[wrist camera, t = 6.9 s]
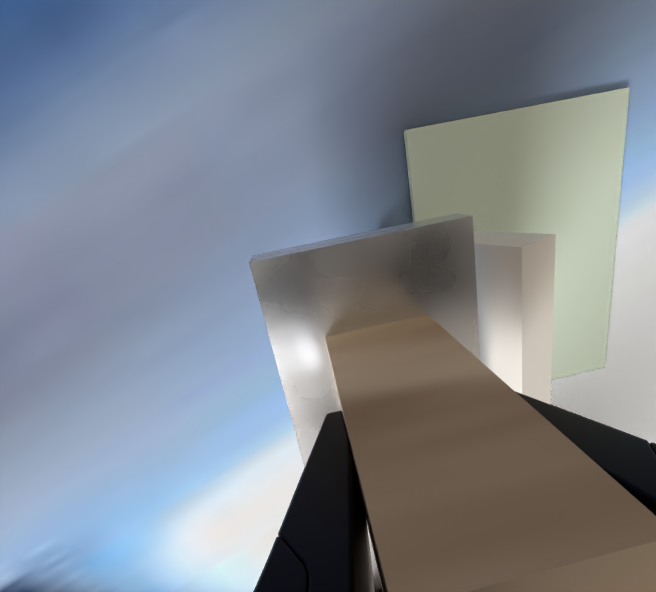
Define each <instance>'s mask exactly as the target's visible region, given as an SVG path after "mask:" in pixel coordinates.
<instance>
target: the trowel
mask: <svg viewBox="0 0 656 592" xmlns="http://www.w3.org/2000/svg"><path fill="white" fill-rule="evenodd" d="M249 264H250V268H251V271H252V275H253V279H254V282H255V286H256V290H257V293H258V297H259V301H260V304H261V308H262V312H263V315H264V319H265V323H266V326H267V330H268V334H269V338H270V341H271V345H272V349H273V352H274V356H275V360H276V363H277V367H278V371H279V374H280V378H281V382H282V385H283V389H284V393H285V396H286V400H287V404H288V408H289V411H290V415H291V419H292V422H293V426H294V430H295V433H296V437H297V441H298V444H299V448H300V452H301V455H302V459H303V463H304V467H305V465H306V463H307V461H308V458H309V456H310V453H311V451H312V448H313V446H314V443H315V441H316V438H317V436H318V433H319V431H320V428H321V426H322V423H323V421H324V418H325V416H326V414H327V413H331V412H335V411H339V410H341V411H342V413H343V417H344V421H345V425H346V429H347V433H348V437H349V441H350V445H351V449H352V454H353V459H354V463H355V468H356V473H357V478H358V482H359V487H360V492H361V497H362V501H363V506H364V511H365V516H366V521H367V526H368V530H369V534H370V539H371V543H372V547H373V551H374V556H375V560H376V564H377V568H378V573H379V577H380V581H381V585H382V590H383V592H656V516H655V515H654V514H653V513H652V512H651V511H650V510H648V509H647V508H646V507H645V506H644V505H643V504H642V503H641V502H639V501H638V500H637V499H636V498H635V497H634V496H633V495H631V494H630V493H629V492H628V491H627V490H626V489H625V488H624V487H622V486H621V485H620V484H619V483H618V482H617V481H616V480H615V479H613V478H612V477H611V476H610V475H609V474H608V473H607V472H605V471H604V470H603V469H602V468H601V467H600V466H599V465H598V464H596V463H595V462H594V461H593V460H592V459H591V458H590V457H589V456H587V455H586V454H585V453H584V452H583V451H582V450H581V449H579V448H578V447H577V446H576V445H575V444H574V443H573V442H572V441H570V440H569V439H568V438H567V437H566V436H565V435H564V434H562V433H561V432H560V431H559V430H558V429H557V428H556V427H555V426H553V425H552V424H551V423H550V422H549V421H548V420H547V419H546V418H544V417H543V416H542V415H541V414H540V413H539V412H538V411H536V410H535V409H534V408H533V407H532V406H531V405H530V404H529V403H527V402H526V401H525V400H524V399H523V398H522V397H521V396H519V395H518V394H517V393H516V392H515V391H514V390H513V389H512V388H510V387H509V386H508V385H507V384H506V383H505V382H504V381H503V380H501V379H500V378H499V377H498V376H497V375H496V374H495V373H493V372H492V371H491V370H490V369H489V368H488V367H487V366H486V365H484V364H483V363H482V362H481V361H480V343H479V324H478V304H477V285H476V266H475V247H474V228H473V216H472V215H465V214H457V213H454V214H449V215H444V216H440V217H435V218H430V219H425V220H420V221H416V222H411V223H406V224H401V225H397V226H392V227H387V228H382V229H378V230H373V231H368V232H363V233H359V234H354V235H349V236H344V237H339V238H335V239H330V240H325V241H320V242H316V243H311V244H306V245H301V246H297V247H292V248H287V249H282V250H277V251H273V252H268V253H263V254H258V255H254V256H253V257H252V259H251V260H250V262H249Z"/></svg>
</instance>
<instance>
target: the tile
mask: <svg viewBox="0 0 656 592" xmlns="http://www.w3.org/2000/svg"><path fill="white" fill-rule="evenodd" d="M555 239H556V234H537V233H512V232H486V231H474V247H475V266H476V285H477V304H478V324H479V343H480V361H481V362H482V363H483V364H484V365H486V366H487V367H488V368H489V369H490V370H491V371H492V372H493V373H495V374H496V375H497V376H498V377H499V378H500V379H501V380H503V381H504V382H505V383H506V384H507V385H508V386H509V387H510V388H512V389H513V390H514V391H516V392H518V393H521V394H524V395H526V396H529V397H532V398H534V399H537V400H540V401H542V402H545V403H548V404H550V405H551V372H552V338H553V305H554V272H555Z"/></svg>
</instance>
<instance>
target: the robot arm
mask: <svg viewBox="0 0 656 592" xmlns="http://www.w3.org/2000/svg"><path fill="white" fill-rule="evenodd" d="M515 392H516V391H515ZM516 393H517V394H518V395H519V396H521V397H522V398H523V399H524V400H525V401H526V402H527V403H529V404H530V405H531V406H532V407H533V408H534V409H535V410H536V411H538V412H539V413H540V414H541V415H542V416H543V417H544V418H546V419H547V420H548V421H549V422H550V423H551V424H552V425H553V426H555V427H556V428H557V429H558V430H559V431H560V432H561V433H562V434H564V435H565V436H566V437H567V438H568V439H569V440H570V441H572V442H573V443H574V444H575V445H576V446H577V447H578V448H579V449H581V450H582V451H583V452H584V453H585V454H586V455H587V456H589V457H590V458H591V459H592V460H593V461H594V462H595V463H596V464H598V465H599V466H600V467H601V468H602V469H603V470H604V471H605V472H607V473H608V474H609V475H610V476H611V477H612V478H613V479H615V480H616V481H617V482H618V483H619V484H620V485H621V486H622V487H624V488H625V489H626V490H627V491H628V492H629V493H630V494H631V495H633V496H634V497H635V498H636V499H637V500H638V501H639V502H641V503H642V504H643V505H644V506H645V507H646V508H647V509H648V510H650V511H651V512H652V513H653V514H654V515H655V516H656V444H655V443H650V444H649V442H648V441H647V440H644V439H642V438H639V437H636V436H634V435H631V434H628V433H626V432H623V431H620V430H617V429H615V428H612V427H609V426H607V425H604V424H601V423H599V422H596V421H593V420H591V419H588V418H585V417H583V416H580V415H577V414H575V413H572V412H569V411H567V410H564V409H561V408H559V407H556V406H553V405H550V404H548V403H545V402H542V401H540V400H537V399H534V398H532V397H529V396H526V395H524V394H521V393H518V392H516ZM278 536H279V537H277V538H276V540H275V542H274V545H273V547H272V550H271V552H270V555H269V557H268V560H267V562H266V564H265V567H264V569H263V571H262V573H261V576H260V578H259V580H258V583H257V585H256V587H255V589H254V591H253V592H375V590H374V581H373V573H372V564H371V555H370V547H369V538H368V529H367V521H366V516H365V511H364V506H363V501H362V497H361V492H360V487H359V482H358V478H357V473H356V468H355V463H354V459H353V454H352V449H351V445H350V441H349V437H348V433H347V429H346V425H345V421H344V417H343V413H342V411H341V410H339V411H335V412H331V413H327V414H326V416H325V418H324V421H323V423H322V426H321V428H320V431H319V433H318V436H317V438H316V441H315V443H314V446H313V448H312V451H311V453H310V456H309V458H308V461H307V463H306V465H305V468H304V470H303V473H302V475H301V478H300V480H299V483H298V485H297V488H296V490H295V493H294V495H293V498H292V500H291V503H290V505H289V508H288V510H287V513H286V515H285V518H284V520H283V523H282V525H281V528H280V530H279V533H278ZM381 592H383V591H381Z"/></svg>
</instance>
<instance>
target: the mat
mask: <svg viewBox="0 0 656 592" xmlns="http://www.w3.org/2000/svg"><path fill="white" fill-rule="evenodd" d="M629 90H630V87H628V88H623V89H617V90H612V91H607V92H602V93H597V94H591V95H586V96H581V97H576V98H570V99H565V100H560V101H555V102H549V103H544V104H539V105H534V106H529V107H523V108H518V109H513V110H508V111H502V112H497V113H492V114H487V115H481V116H476V117H471V118H466V119H460V120H455V121H450V122H445V123H440V124H434V125H429V126H424V127H419V128H413V129H408V130H405V131H404V140H405V150H406V159H407V169H408V179H409V188H410V198H411V208H412V217H413V222H416V221H420V220H425V219H430V218H435V217H440V216H444V215H449V214H454V213H457V214H465V215H472V216H473V228H474V231H486V232H512V233H537V234H556V239H555V272H554V305H553V338H552V372H551V380H554V379H558V378H562V377H567V376H571V375H575V374H579V373H584V372H588V371H592V370H597V369H601V368H605V360H606V349H607V337H608V326H609V315H610V304H611V292H612V281H613V270H614V259H615V247H616V236H617V225H618V214H619V202H620V191H621V180H622V169H623V157H624V146H625V135H626V124H627V112H628V101H629Z"/></svg>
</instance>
